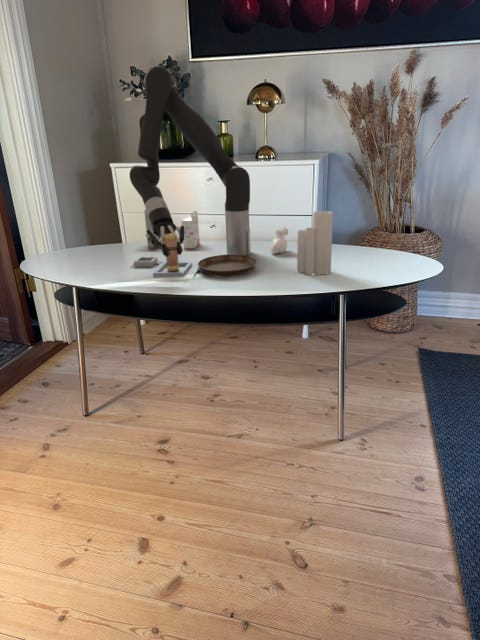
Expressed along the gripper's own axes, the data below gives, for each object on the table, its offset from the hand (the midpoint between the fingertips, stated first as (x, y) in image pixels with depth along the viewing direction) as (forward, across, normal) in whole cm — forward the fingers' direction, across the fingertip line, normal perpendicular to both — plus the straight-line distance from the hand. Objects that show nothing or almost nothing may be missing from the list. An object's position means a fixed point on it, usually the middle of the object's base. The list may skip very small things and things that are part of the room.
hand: (173, 254), depth 161 cm
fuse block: (-5, -5, +16) cm, 18 cm away
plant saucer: (+8, +18, +3) cm, 20 cm away
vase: (+22, +41, -11) cm, 48 cm away
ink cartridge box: (-22, +23, +34) cm, 46 cm away
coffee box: (-30, +11, +41) cm, 52 cm away
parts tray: (+4, 0, +7) cm, 8 cm away
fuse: (+3, 0, +5) cm, 6 cm away
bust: (0, +47, +11) cm, 48 cm away
